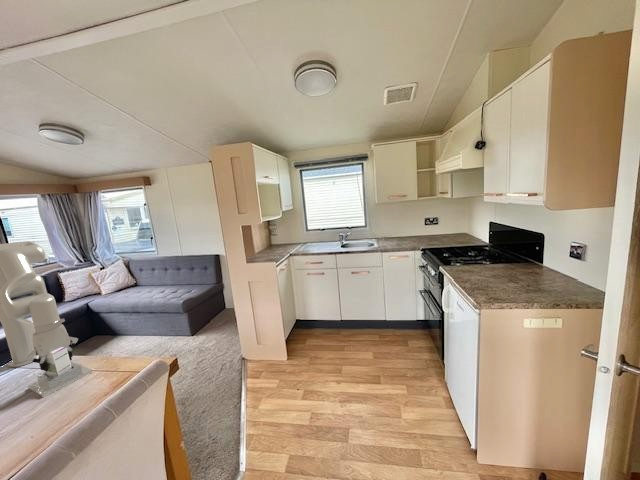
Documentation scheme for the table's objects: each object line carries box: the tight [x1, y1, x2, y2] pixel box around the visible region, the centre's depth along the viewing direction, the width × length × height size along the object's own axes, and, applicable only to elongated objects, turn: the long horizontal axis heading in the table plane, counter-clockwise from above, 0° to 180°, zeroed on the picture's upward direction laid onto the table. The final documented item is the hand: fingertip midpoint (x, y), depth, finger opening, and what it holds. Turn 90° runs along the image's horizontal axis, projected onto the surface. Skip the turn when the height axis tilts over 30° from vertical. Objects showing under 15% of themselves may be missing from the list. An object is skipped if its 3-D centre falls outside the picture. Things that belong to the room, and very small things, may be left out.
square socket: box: [27, 360, 93, 398], centre depth 110 cm, size 14×16×4 cm
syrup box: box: [44, 347, 72, 378], centre depth 109 cm, size 6×6×14 cm
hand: (57, 364), depth 109 cm, fingers closed on syrup box, 7 cm apart
